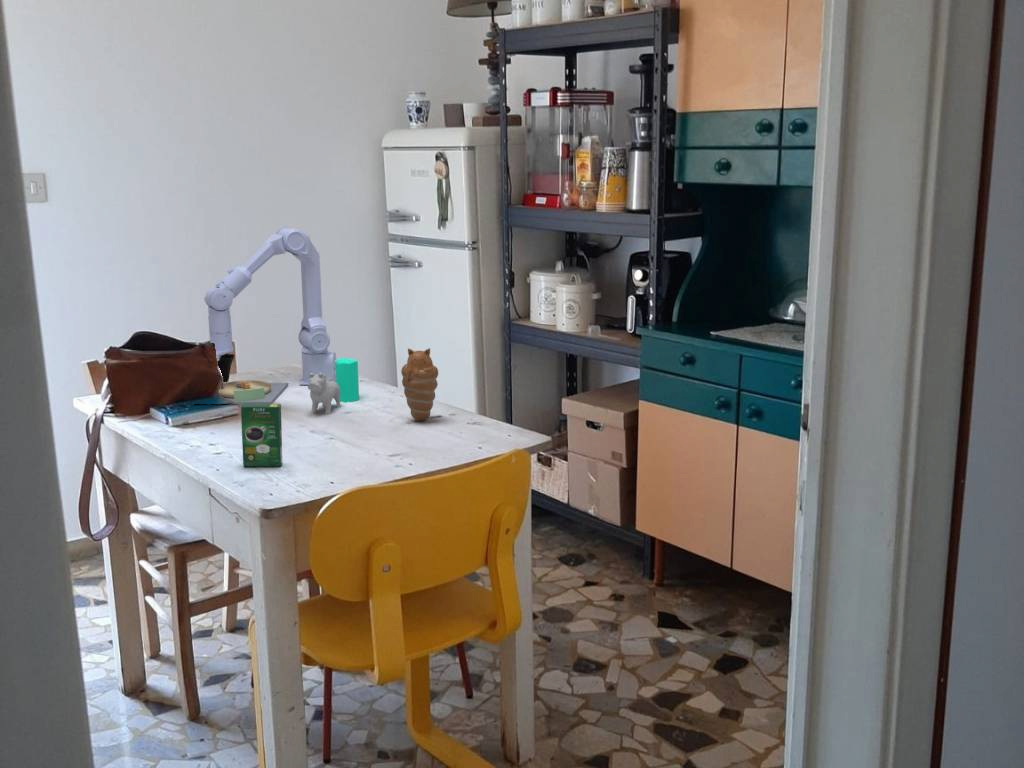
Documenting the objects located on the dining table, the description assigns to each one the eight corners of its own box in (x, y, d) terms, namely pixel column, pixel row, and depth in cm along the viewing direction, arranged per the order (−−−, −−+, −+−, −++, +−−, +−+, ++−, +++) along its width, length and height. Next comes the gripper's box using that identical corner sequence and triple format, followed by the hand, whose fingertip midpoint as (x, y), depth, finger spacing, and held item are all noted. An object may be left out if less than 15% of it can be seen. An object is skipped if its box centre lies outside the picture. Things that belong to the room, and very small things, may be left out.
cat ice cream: (401, 425, 235) (399, 351, 231) (404, 416, 242) (402, 345, 238) (438, 425, 235) (437, 351, 231) (439, 416, 243) (438, 344, 239)
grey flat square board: (288, 385, 275) (288, 381, 275) (270, 405, 254) (270, 400, 254) (216, 385, 275) (216, 381, 275) (193, 405, 254) (192, 401, 253)
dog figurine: (303, 417, 242) (301, 375, 240) (323, 404, 255) (321, 364, 252) (324, 418, 241) (322, 375, 239) (343, 405, 254) (341, 365, 251)
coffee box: (284, 462, 206) (281, 402, 203) (282, 467, 203) (279, 405, 200) (245, 463, 205) (241, 402, 203) (242, 467, 203) (239, 406, 200)
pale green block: (263, 397, 258) (263, 387, 258) (265, 398, 257) (264, 388, 256) (233, 400, 255) (232, 390, 255) (234, 401, 254) (234, 391, 253)
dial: (249, 382, 274) (248, 367, 273) (283, 390, 265) (283, 375, 264) (202, 391, 263) (200, 376, 262) (236, 400, 254) (235, 385, 253)
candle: (333, 398, 261) (332, 353, 259) (355, 395, 264) (354, 351, 261) (339, 403, 256) (338, 357, 253) (362, 400, 259) (360, 355, 256)
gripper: (213, 327, 270) (216, 375, 273) (197, 337, 256) (201, 388, 259) (238, 327, 270) (241, 375, 273) (224, 337, 256) (228, 387, 259)
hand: (224, 381), depth 266 cm, fingers closed
